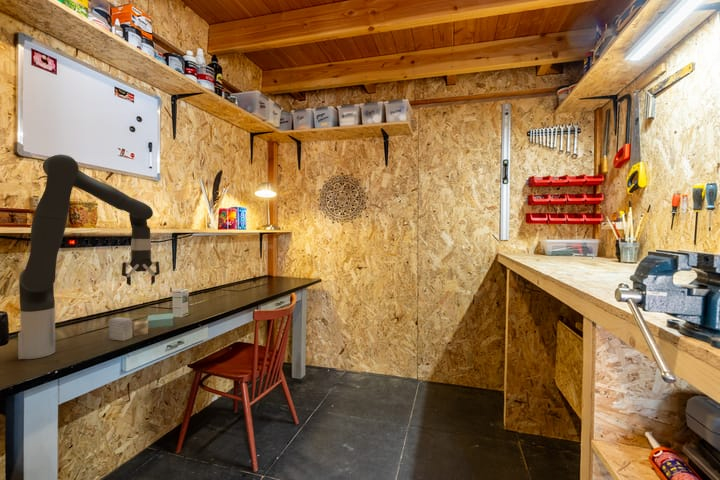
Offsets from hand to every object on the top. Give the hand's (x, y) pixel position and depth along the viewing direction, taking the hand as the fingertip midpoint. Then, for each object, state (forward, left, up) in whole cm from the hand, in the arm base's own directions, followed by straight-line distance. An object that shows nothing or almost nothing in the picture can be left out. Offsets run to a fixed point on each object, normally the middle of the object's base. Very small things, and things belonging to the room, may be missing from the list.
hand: (141, 284), depth 151 cm
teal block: (+7, +13, -22) cm, 27 cm away
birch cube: (0, 0, -22) cm, 22 cm away
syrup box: (+16, +26, -22) cm, 38 cm away
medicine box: (-7, -5, -22) cm, 24 cm away
